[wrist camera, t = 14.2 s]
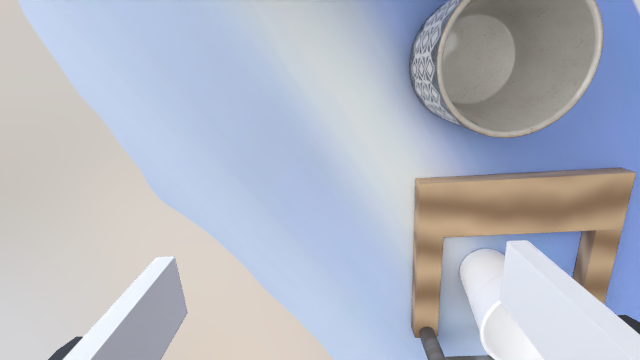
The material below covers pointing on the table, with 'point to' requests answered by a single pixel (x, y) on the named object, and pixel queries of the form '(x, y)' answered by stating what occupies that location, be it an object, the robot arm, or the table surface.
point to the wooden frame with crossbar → (515, 227)
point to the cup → (493, 307)
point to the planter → (506, 62)
